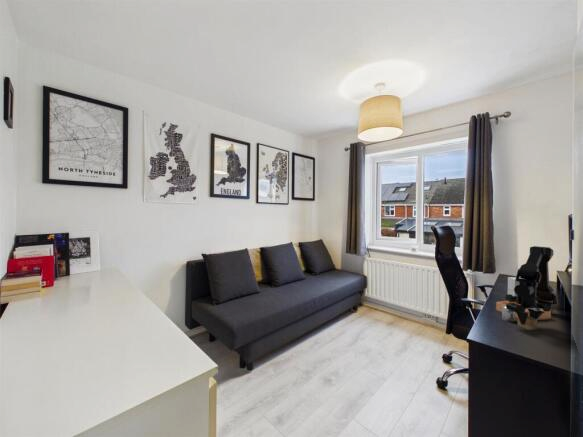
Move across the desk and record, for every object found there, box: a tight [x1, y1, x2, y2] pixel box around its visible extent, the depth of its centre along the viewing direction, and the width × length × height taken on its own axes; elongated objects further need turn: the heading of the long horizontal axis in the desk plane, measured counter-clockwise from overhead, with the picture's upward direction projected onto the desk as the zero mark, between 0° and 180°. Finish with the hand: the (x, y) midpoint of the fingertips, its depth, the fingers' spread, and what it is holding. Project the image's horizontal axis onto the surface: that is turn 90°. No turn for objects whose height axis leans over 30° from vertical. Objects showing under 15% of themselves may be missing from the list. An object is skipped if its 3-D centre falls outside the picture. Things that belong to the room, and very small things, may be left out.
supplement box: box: [507, 276, 522, 296], centre depth 166 cm, size 7×7×13 cm
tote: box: [495, 300, 552, 321], centre depth 137 cm, size 18×14×5 cm
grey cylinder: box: [501, 305, 515, 323], centre depth 130 cm, size 5×5×7 cm
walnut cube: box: [517, 316, 538, 331], centre depth 121 cm, size 5×5×5 cm
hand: (527, 324), depth 121 cm, fingers closed on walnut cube, 5 cm apart
